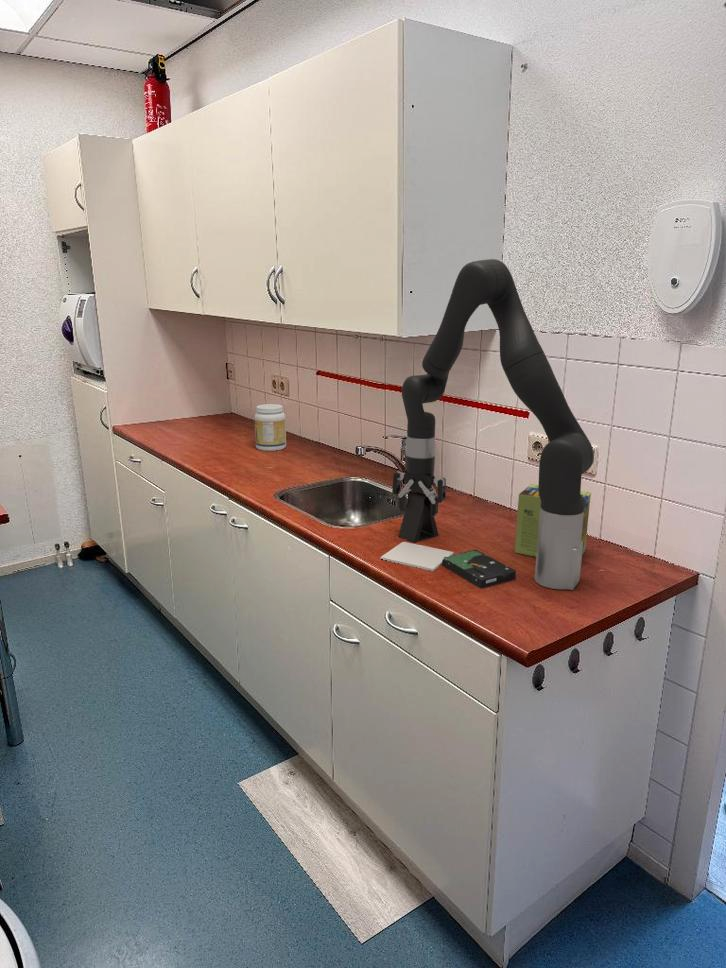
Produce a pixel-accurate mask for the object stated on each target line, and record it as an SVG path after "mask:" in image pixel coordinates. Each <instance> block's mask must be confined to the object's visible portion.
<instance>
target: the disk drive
mask: <svg viewBox="0 0 726 968" xmlns="http://www.w3.org/2000/svg"><path fill="white" fill-rule="evenodd" d="M441 566H442V567H444V568H445V569H447V570H448V571H451V572H452V573H454V574H456V575H457V576H458V577H460V578H462V579H463V580H466V581H468V582H469V583H470V584H472V585H474V586H475V587H477V588H479V589H484V588H488V587H492V586H496V585H500V584H504V583H508V582H512V581H516V576H517V570H515V569H514V568H512V567H511V566H508V565H506V564H504V563H503V562H501V561H498V560H497V559H494V558H493V557H491V556H489V555H487V554H485V553H484V552H482V551H480V550H478V549H471V550H468V551H463V552H459V553H457V554H454V555H452V556H449V557H444V559H443V560H442V565H441Z"/></svg>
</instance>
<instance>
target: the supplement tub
mask: <svg viewBox="0 0 726 968" xmlns="http://www.w3.org/2000/svg"><path fill="white" fill-rule="evenodd" d="M283 411H284V405H282V404H276V403H272V404H271V403H267V404H260V405H259V404H258V405H257V406H256V413H255V414H254V434H255V435H254V436H255V447H256V449H258V450H260V451H264V452H272V451H273V452H277V451H281V450H283V449H285V448H286V447H287V429H286V428H287V427H286V418H287V417H286V414H285V413H284V412H283ZM276 450H277V451H276Z"/></svg>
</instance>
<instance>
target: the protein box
mask: <svg viewBox="0 0 726 968" xmlns="http://www.w3.org/2000/svg"><path fill="white" fill-rule="evenodd" d="M538 486H539V484H534V483H533V484H532V483H531V484H529V485H528V486H527V487H525V489H524V490H522V491H521V492H520V493H519V494H518V501H517V515H516V516H517V517H516V526H515V527H516V528H515V539H514V549H513V550H514V552H513V553H516V554H519V555H520V554H521V555H524V556H530V557H535V558H536V554H537V542H538V530H539V518H540V505H541V500H540V497H539V492H538ZM581 495H582V496H583V497H584V499H585V508H584V516H583V526H582V537H581V541H583V550H582V556H583V554H584V553H585V552H586V544H587V536H588V526H589V524H588V523H589V515H590V503H591V496H592V492H591V491H586V490H585V491H584V490H581Z"/></svg>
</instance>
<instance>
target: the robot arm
mask: <svg viewBox="0 0 726 968" xmlns="http://www.w3.org/2000/svg"><path fill="white" fill-rule="evenodd" d="M449 297H450V298H449V299H448V303H447V306H446V309H445V312H444V314H443V318H442V320H441V323H440V326H439V328H438V330H437V332H436V334H435V337H434V338H433V339H432V342H431V343H430V345H429V347H428V349H427V351H426V353H425V355H424V357H423V359H422V362H421V366H422V368H423V371H424V372H425V373H426V374H418V375H410V376H408V377H406V379H405V380H404V382H403V384H402V385H401V397H402V398H401V399H402V402H403V407H404V410H405V414H406V420H407V425H406V426H407V427H406V428H407V429H406V431H407V432H406V440H405V450H404V451H405V458H404V460H405V462H404V469H405V471H404V472H402V470H398V471H397V470H396V471H395V472H393V479H392V491H391V493H392V494H393V495H397V496H398V509H400V511H401V512H404V513H405V510H406V506H407V503H408V493H409V492H410V491H413V492H416V491H417V492H420V493H424V494H425V495H426V496H427V497H428V498H429V499H430V501H431V505H430V517H434V518H435V517H436V515H437V514H438V513H439V504H440V503H443V502H444V501H445V500H446V499H447V496H446V495H447V490H446V489H447V485H446V484H447V483H446V481H447V479H446V478H445V477H442V478H436V477H435V465H436V462H435V461H436V437H435V436H436V416H435V415H434V414H433V413H431V412H428V411H425V409H424V404H429V403H435V402H437V401H439V399H441V397H442V396H443V395H444V393H445V390H446V388H447V383H448V380H449V379H448V378H449V374H450V371H451V370H452V368H453V366H454V364H455V363H456V361H457V359H458V357H459V356H460V354H461V352H462V349H463V346H464V340H465V330H466V328H467V327H466V326H467V324H468V322H469V319H471V316H472V315H473V314H474V313H475V311H476V310H477V309H478V307H480V306H483V305H486V304H487V306H488V308H489V309H490V311H491V313H492V315H493V317H494V320H495V322H496V324H497V328H498V332H499V333H498V334H499V360H500V364H501V367H502V369H503V372H504V374H505V376H506V378H507V381H508V382H509V385H510V387H511V389H512V390H513V392H514V394H515V395H516V396H517V398H518V399H519V400H520V401H521V402H522V403H523V404H524V405H525V406H526V407H527V408H528V410H529V411H531V413H532V414H533V415H534V416H535V418H536V419H537V420H538V421H539V423H540V424H541V427H542V428H543V431H544V432H545V435H546V437H547V440H548V443H547V444H545V446H544V447H543V449H542V450H541V452H540V453H541V454H540V456H539V457H540V458H539V466H538V467H539V468H538V485H539V486H538V492H539V497H540V500H541V505H540V518H539V530H538V542H537V554H536V557H535V568H534V581H535V582H536V583H537V584H538V585H540V586H542V587H545V588H547V589H552V590H553V589H554V590H571V591H573V590H574V589H575V587H576V586H577V585H578V583H579V582H580V579H581V578H580V577H581V569H582V568H581V567H582V558H583V555H582V550H583V541H581V537H582V526H583V516H584V508H585V499H584V497H583V496H582V495H581V491H582V475H583V474H584V473H586V472H588V471H589V470H590V469H591V468H592V466H593V463H594V460H595V450H594V448H593V446H592V443H591V442H590V440H589V437H588V436H587V434H586V433H585V432H584V430H583V428H582V427H581V425H580V423H579V421H578V420H577V419H576V417H575V415H574V413H573V412H572V410H571V407H570V406H569V404H568V402H567V399H566V398H565V395H564V392H563V390H562V388H561V386H560V384H559V383H558V380H557V378H556V376H555V374H554V372H553V368H552V366H551V364H550V362H549V360H548V358H547V356H546V353H545V352H544V349H543V348H542V346H541V343H540V342H539V339H538V337H537V336H536V334H535V331H534V329H533V327H532V325H531V322H530V321H529V318H528V316H527V313H526V312H525V309H524V306H523V304H522V301H521V298H520V295H519V293H518V289H517V287H516V284H515V281H514V278H513V275H512V273H511V271H510V270H509V268H508V266H507V265H506V264H505V263H504V262H503V261H501V260H500V259H494V258H491V259H482V260H481V259H480V260H474V261H471V262H468V263H467V264H465V265H463V267H462V268H461V269H460V271H459V273H458V275H457V277H456V280H455V283H454V285H453V287H452V291H451V294H450V296H449ZM403 480H404V481H405V485H404V487H403V488H402V487H401V486H402V481H403ZM434 484H435V486H436V488H437V492H436V489H435V488H434V486H433V485H434ZM401 488H402V489H401Z"/></svg>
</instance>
